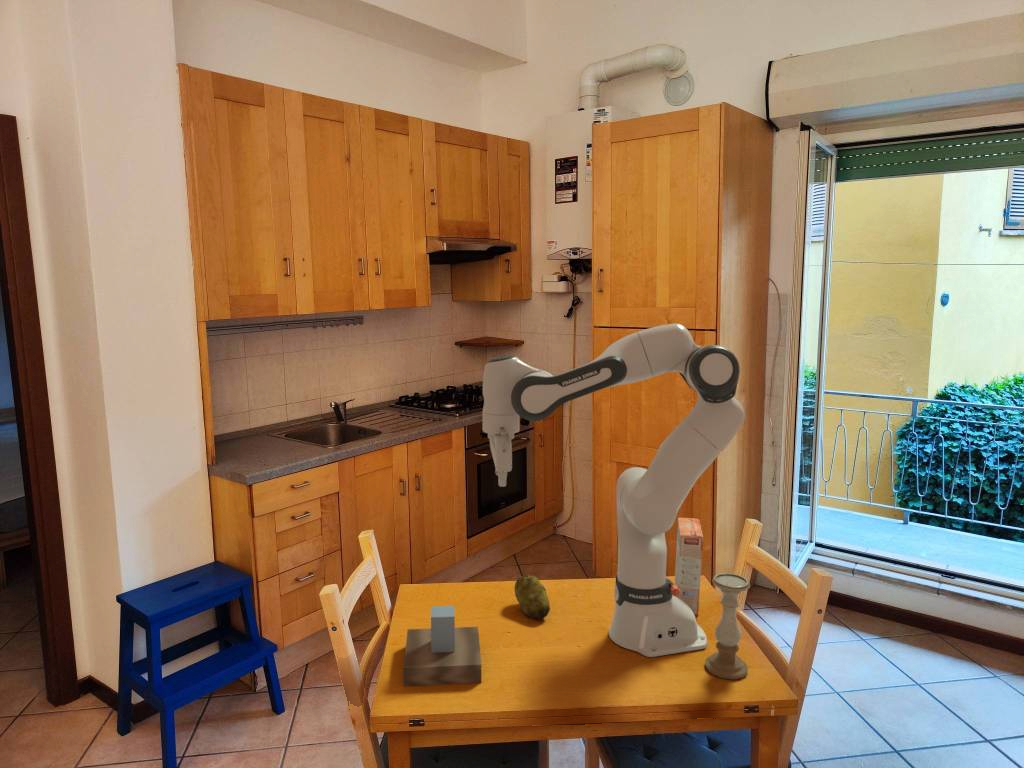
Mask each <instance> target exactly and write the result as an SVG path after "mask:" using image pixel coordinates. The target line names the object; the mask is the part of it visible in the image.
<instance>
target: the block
mask: <svg viewBox="0 0 1024 768" xmlns="http://www.w3.org/2000/svg"><path fill="white" fill-rule="evenodd" d="M455 614H456V613H455V605H441V606H439V605H438V606H437V605H435V606H431V609H430V629H431V653H436V652H455V628H456V625H455V619H456V618H455Z"/></svg>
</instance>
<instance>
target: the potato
mask: <svg viewBox="0 0 1024 768" xmlns="http://www.w3.org/2000/svg"><path fill="white" fill-rule="evenodd" d="M514 596H515V597H516V601H517V602H518V605H519V609H520V610H521V611H522V612H523V613H524V614H525V615H526V616H527V617H529V618H533V619H537V620H541V619H544V618H546V617H547V616H548V614H549V612H550V610H551V607H550V601H549V597H548V594H547V589H546V588H545V586H544V584H542V583H541V581H540V580H539V578H538V577H537V576H536V575H532V574H523V575H521V576H519V577H518V578H517V580H516V581H515V582H514Z"/></svg>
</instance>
